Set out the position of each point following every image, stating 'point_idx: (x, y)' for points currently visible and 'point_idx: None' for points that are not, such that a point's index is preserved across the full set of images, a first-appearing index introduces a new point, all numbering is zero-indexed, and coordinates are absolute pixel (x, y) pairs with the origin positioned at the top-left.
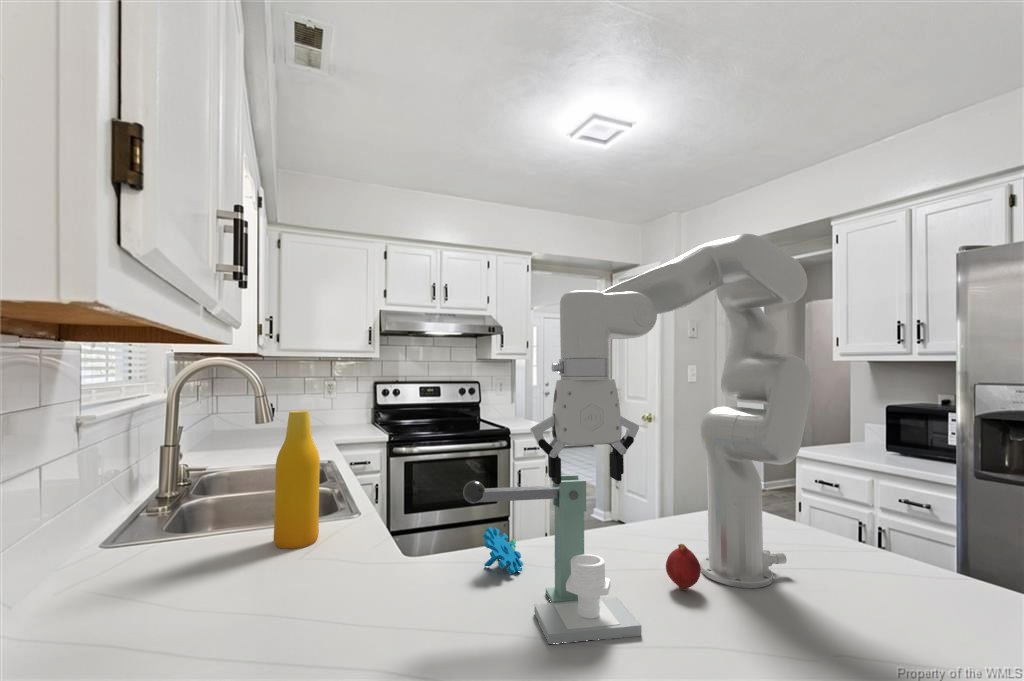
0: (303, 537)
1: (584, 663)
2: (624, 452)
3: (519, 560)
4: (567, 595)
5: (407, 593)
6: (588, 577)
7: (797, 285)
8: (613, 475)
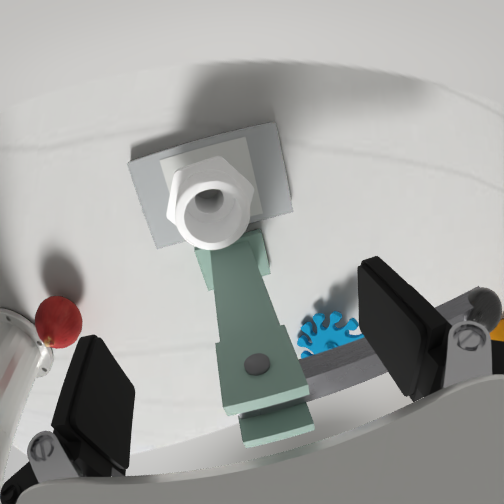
0: (498, 330)
1: (223, 80)
2: (40, 443)
3: (304, 345)
4: (238, 246)
5: (434, 249)
6: (212, 174)
7: None
8: (114, 371)
